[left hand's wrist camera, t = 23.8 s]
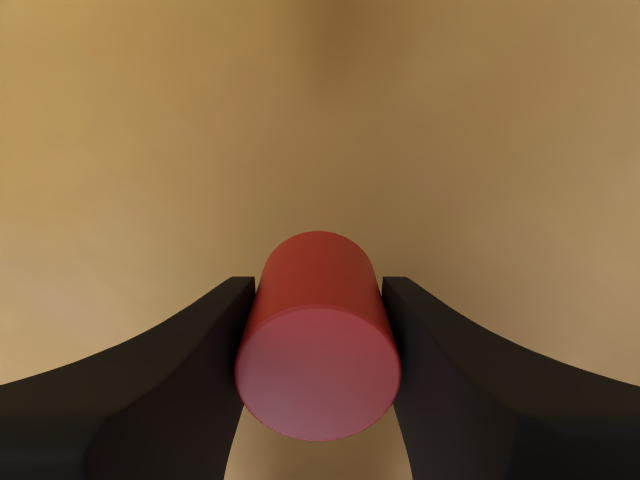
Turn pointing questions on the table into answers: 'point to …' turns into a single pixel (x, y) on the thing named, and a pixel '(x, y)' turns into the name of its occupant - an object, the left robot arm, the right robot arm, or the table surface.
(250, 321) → the canister
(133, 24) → the table surface
